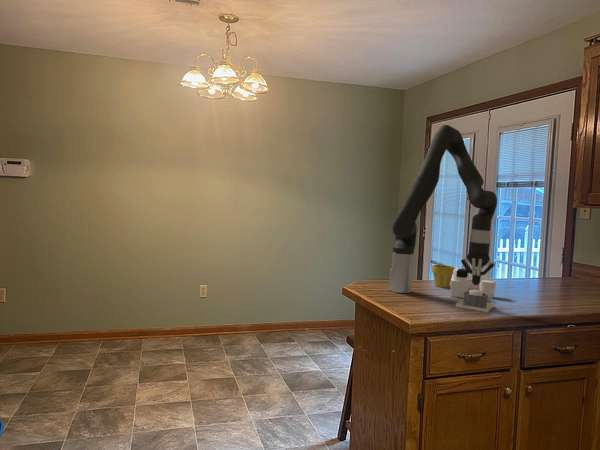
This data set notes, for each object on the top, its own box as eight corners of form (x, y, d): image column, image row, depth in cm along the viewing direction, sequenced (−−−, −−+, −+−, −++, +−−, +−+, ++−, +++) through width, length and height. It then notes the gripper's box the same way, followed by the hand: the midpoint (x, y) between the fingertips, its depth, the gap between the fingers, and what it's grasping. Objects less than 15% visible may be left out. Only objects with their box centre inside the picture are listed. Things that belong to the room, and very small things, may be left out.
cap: (466, 303, 180) (467, 291, 180) (470, 301, 184) (470, 289, 184) (480, 305, 178) (480, 293, 177) (483, 303, 182) (483, 291, 181)
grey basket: (455, 306, 179) (456, 293, 179) (462, 301, 189) (463, 289, 189) (488, 312, 173) (489, 298, 172) (493, 306, 183) (494, 293, 183)
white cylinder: (496, 299, 197) (497, 283, 197) (479, 297, 199) (480, 281, 198) (493, 295, 204) (494, 280, 203) (476, 294, 205) (478, 279, 205)
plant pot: (427, 283, 225) (428, 264, 224) (447, 284, 226) (448, 264, 226) (435, 288, 215) (437, 267, 214) (456, 288, 216) (458, 268, 215)
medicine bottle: (467, 295, 202) (469, 268, 201) (467, 298, 195) (469, 271, 194) (450, 293, 204) (452, 267, 204) (450, 296, 198) (452, 269, 197)
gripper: (499, 242, 178) (495, 286, 180) (464, 238, 186) (460, 280, 187) (496, 243, 172) (491, 289, 174) (460, 240, 179) (456, 283, 181)
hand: (475, 284), depth 180 cm, fingers closed
